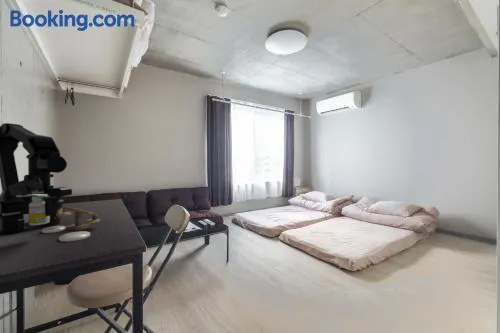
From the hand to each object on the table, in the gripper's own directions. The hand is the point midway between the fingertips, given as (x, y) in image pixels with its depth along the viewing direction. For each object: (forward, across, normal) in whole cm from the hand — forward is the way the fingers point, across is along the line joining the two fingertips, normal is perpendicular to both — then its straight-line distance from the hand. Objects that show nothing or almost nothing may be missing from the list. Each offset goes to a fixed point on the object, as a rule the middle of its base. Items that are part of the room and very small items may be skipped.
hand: (39, 215), depth 79 cm
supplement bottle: (+3, 0, 0) cm, 3 cm away
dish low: (+8, +11, +2) cm, 14 cm away
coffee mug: (+8, -11, +19) cm, 24 cm away
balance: (+8, +4, +13) cm, 16 cm away
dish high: (+8, -3, +10) cm, 13 cm away
